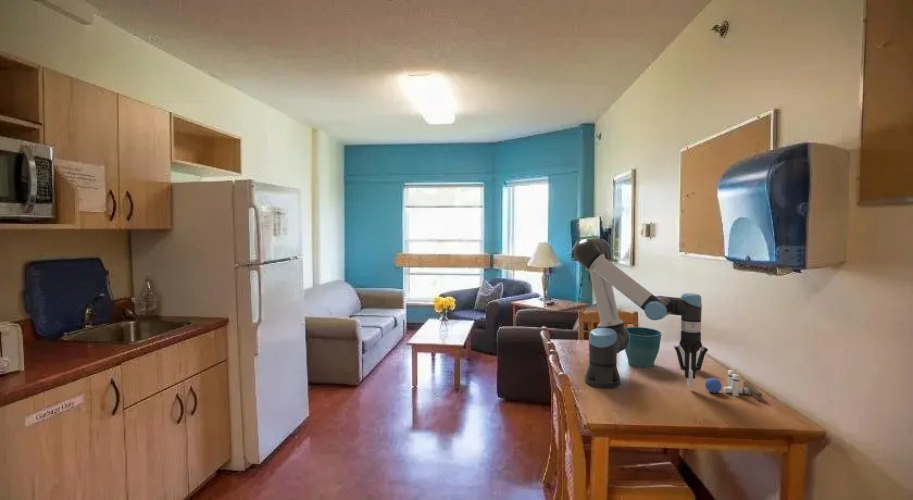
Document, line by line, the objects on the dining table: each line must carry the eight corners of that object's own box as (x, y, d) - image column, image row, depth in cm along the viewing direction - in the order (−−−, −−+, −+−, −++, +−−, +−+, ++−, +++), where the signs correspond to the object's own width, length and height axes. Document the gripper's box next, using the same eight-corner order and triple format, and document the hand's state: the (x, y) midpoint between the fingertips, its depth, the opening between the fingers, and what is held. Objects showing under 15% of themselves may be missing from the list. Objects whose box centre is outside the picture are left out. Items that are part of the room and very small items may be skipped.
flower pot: (669, 367, 217) (670, 333, 217) (640, 372, 211) (641, 337, 210) (641, 357, 234) (642, 325, 233) (614, 361, 228) (614, 329, 227)
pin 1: (728, 391, 186) (729, 371, 185) (726, 389, 188) (727, 369, 188) (735, 392, 185) (736, 372, 185) (733, 390, 188) (733, 370, 187)
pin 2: (733, 396, 181) (733, 375, 181) (731, 394, 184) (731, 373, 183) (740, 396, 180) (740, 376, 180) (737, 394, 183) (738, 374, 182)
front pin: (725, 387, 184) (748, 388, 182) (723, 385, 186) (746, 387, 185) (725, 393, 184) (749, 394, 182) (723, 391, 186) (746, 393, 185)
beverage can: (700, 371, 211) (700, 346, 210) (681, 370, 213) (682, 346, 212) (694, 366, 219) (695, 342, 218) (677, 365, 221) (677, 341, 220)
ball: (726, 387, 181) (717, 398, 183) (722, 380, 187) (713, 391, 189) (713, 378, 182) (703, 389, 184) (709, 372, 188) (700, 383, 190)
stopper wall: (757, 400, 176) (757, 393, 176) (743, 388, 190) (743, 381, 190) (761, 401, 176) (762, 393, 176) (747, 388, 189) (747, 381, 189)
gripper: (676, 332, 185) (675, 387, 186) (710, 333, 182) (709, 390, 183) (671, 327, 192) (670, 381, 193) (705, 329, 189) (704, 383, 190)
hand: (689, 385), depth 188 cm, fingers closed
